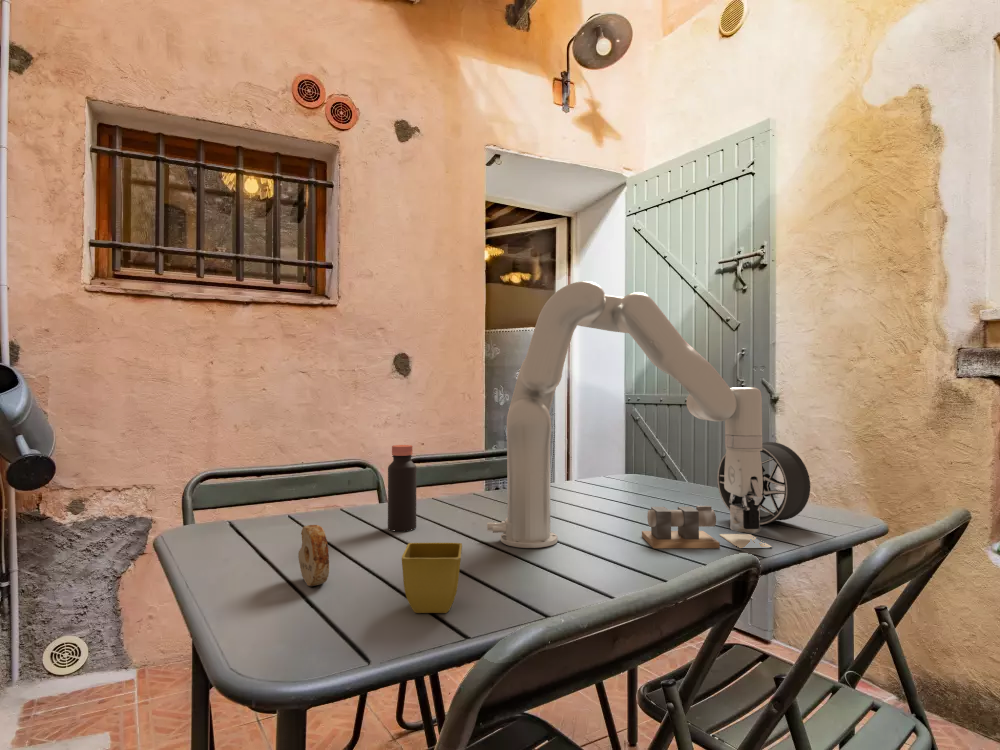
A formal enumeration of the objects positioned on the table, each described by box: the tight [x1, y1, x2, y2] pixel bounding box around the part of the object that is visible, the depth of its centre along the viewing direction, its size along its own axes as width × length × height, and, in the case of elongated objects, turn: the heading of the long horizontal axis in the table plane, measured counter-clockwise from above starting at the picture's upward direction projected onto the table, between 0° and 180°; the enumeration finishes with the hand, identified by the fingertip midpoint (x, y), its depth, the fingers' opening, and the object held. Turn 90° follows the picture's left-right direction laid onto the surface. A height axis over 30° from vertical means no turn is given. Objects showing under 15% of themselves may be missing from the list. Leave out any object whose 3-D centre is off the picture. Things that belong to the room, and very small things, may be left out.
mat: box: [719, 533, 773, 549], centre depth 129 cm, size 7×11×1 cm, turn 0°
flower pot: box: [401, 542, 463, 614], centre depth 91 cm, size 9×9×9 cm
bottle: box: [387, 444, 417, 532], centre depth 142 cm, size 7×7×20 cm
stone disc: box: [297, 524, 330, 587], centre depth 103 cm, size 10×4×10 cm, turn 30°
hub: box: [729, 504, 761, 534], centre depth 129 cm, size 6×6×5 cm
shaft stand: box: [641, 505, 721, 549], centre depth 129 cm, size 14×10×8 cm
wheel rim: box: [716, 441, 811, 526], centre depth 148 cm, size 20×9×20 cm, turn 30°
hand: (744, 524), depth 129 cm, fingers closed on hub, 6 cm apart
